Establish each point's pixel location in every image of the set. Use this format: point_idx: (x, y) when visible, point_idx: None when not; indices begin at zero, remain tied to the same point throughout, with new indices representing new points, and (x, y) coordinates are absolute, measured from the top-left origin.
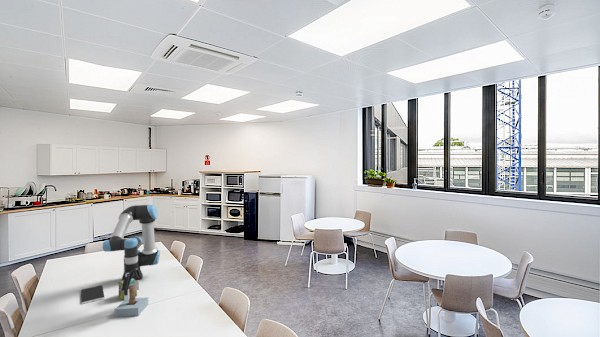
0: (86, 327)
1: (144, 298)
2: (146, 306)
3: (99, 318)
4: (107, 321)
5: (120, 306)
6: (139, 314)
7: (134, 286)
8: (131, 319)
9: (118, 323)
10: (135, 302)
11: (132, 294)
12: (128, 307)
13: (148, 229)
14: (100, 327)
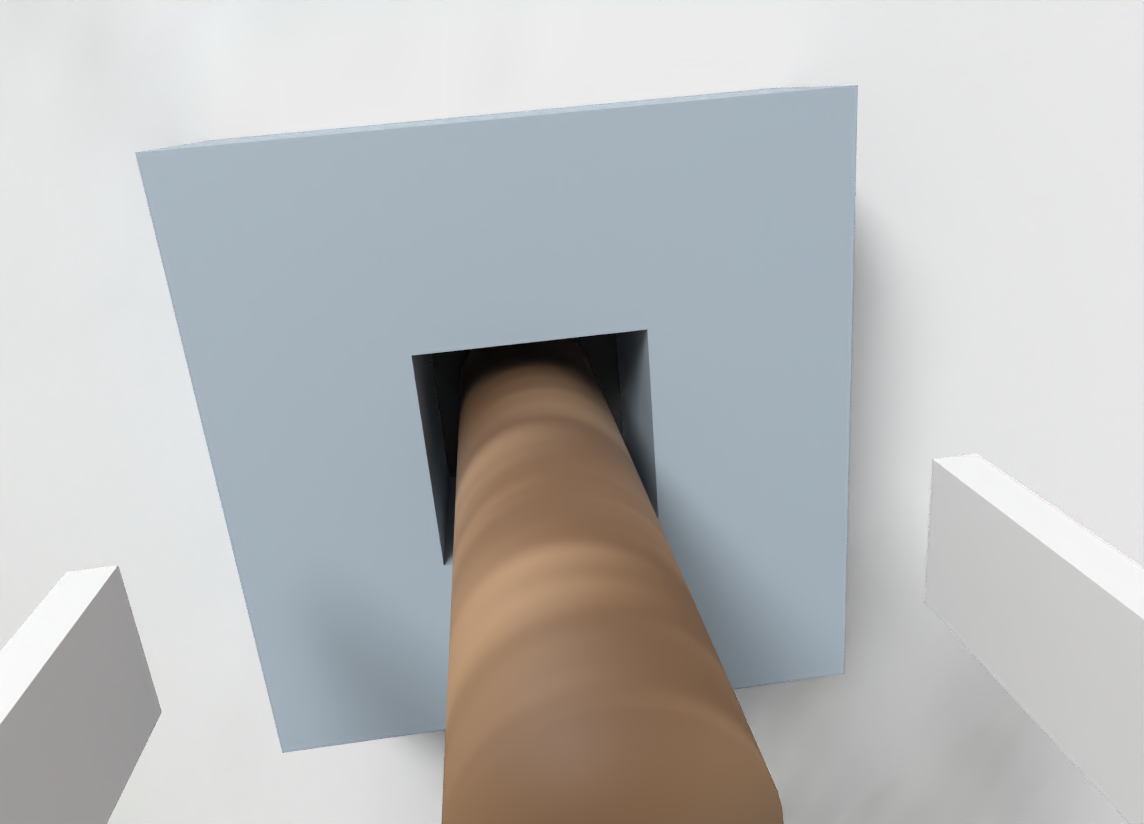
0: (1057, 797)
1: (223, 241)
2: (318, 130)
3: (796, 798)
4: (924, 605)
5: (721, 631)
6: (720, 93)
7: (633, 703)
8: (924, 165)
9: (1039, 354)
10: (422, 413)
11: (663, 534)
12: (796, 399)
13: None
14: None
